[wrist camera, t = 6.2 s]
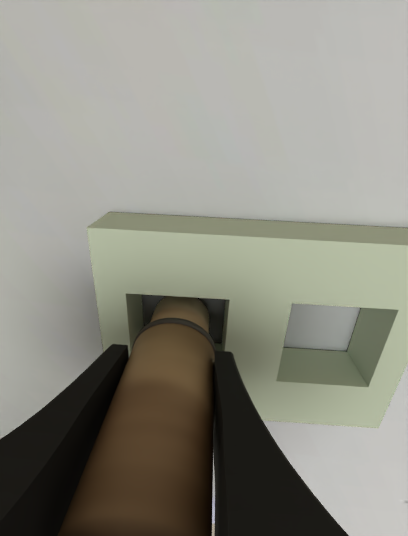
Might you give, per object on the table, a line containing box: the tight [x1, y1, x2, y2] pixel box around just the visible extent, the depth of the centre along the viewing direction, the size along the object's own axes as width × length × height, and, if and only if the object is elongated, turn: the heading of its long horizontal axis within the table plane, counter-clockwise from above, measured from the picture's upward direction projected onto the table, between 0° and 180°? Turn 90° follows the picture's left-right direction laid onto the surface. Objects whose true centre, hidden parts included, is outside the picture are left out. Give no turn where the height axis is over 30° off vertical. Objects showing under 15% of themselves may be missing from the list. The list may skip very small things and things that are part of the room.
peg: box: [58, 296, 216, 536], centre depth 10 cm, size 4×4×9 cm
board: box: [87, 212, 408, 428], centre depth 14 cm, size 10×14×2 cm
